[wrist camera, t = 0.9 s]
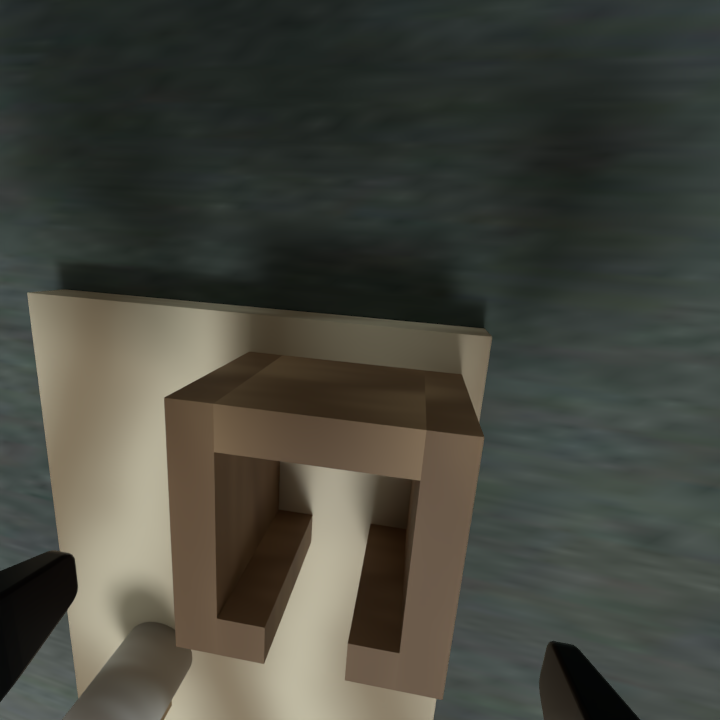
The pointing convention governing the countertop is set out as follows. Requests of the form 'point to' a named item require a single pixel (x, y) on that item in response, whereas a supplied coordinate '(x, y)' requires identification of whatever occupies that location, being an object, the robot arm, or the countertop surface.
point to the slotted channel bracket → (294, 530)
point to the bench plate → (151, 503)
